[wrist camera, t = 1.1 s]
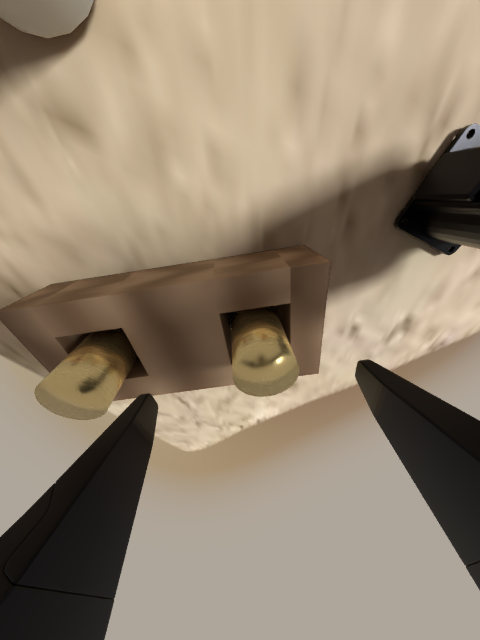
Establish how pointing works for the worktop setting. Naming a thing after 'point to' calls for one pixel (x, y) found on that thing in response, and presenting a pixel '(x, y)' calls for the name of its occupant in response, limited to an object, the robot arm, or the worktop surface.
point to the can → (45, 15)
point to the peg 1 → (88, 376)
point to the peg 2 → (261, 353)
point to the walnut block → (179, 316)
